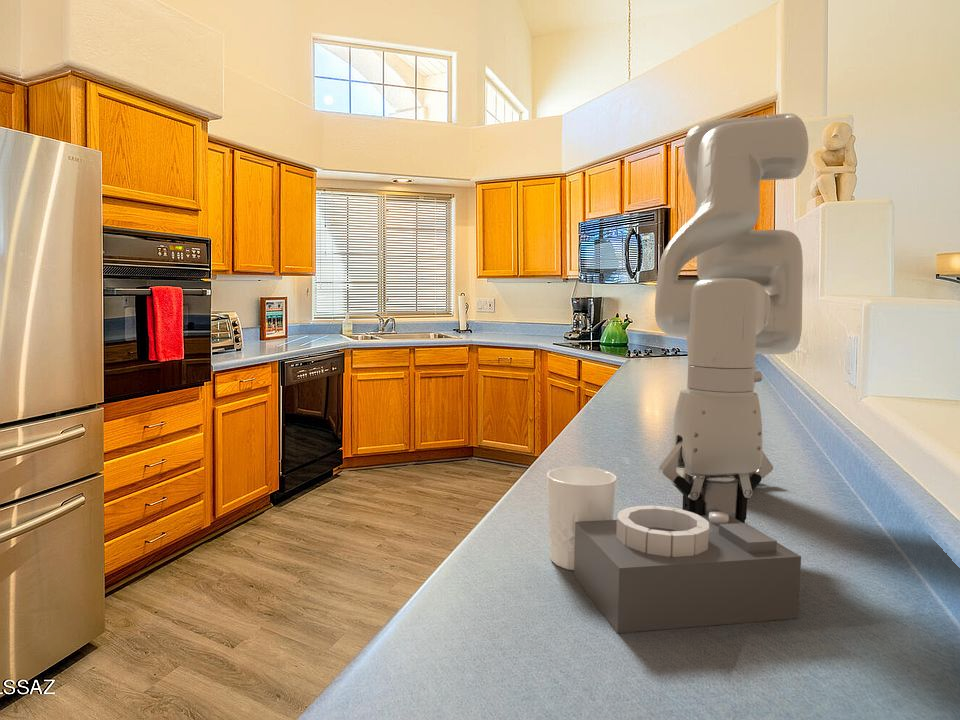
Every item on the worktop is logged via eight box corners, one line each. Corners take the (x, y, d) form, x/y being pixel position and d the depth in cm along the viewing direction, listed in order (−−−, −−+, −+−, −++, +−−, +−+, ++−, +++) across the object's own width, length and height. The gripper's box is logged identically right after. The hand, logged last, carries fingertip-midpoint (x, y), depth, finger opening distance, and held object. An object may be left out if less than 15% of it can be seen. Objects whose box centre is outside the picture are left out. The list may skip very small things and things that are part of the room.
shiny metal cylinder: (720, 536, 78) (723, 467, 78) (743, 551, 73) (746, 478, 73) (684, 538, 78) (686, 469, 77) (705, 554, 73) (708, 480, 72)
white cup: (599, 580, 65) (601, 489, 64) (533, 564, 69) (535, 477, 68) (623, 556, 72) (626, 472, 71) (562, 542, 76) (564, 463, 75)
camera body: (725, 565, 69) (728, 496, 69) (797, 618, 57) (802, 535, 57) (573, 575, 66) (575, 503, 66) (617, 633, 54) (620, 546, 54)
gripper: (764, 377, 79) (757, 514, 80) (640, 378, 76) (636, 520, 78) (804, 384, 72) (796, 534, 73) (669, 385, 69) (663, 542, 70)
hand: (713, 525), depth 75 cm, fingers closed on shiny metal cylinder, 5 cm apart
